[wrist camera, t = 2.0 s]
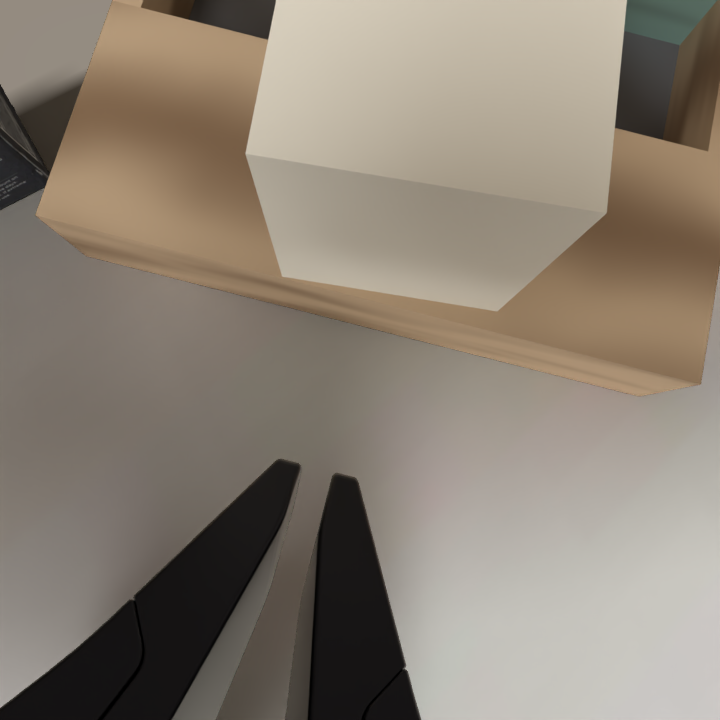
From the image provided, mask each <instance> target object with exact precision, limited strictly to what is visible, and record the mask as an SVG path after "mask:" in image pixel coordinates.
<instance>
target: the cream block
mask: <svg viewBox="0 0 720 720" xmlns="http://www.w3.org/2000/svg"><path fill="white" fill-rule="evenodd" d="M626 4H627V0H276V4H275V9H274V14H273V19H272V24H271V28H270V33H269V38H268V43H267V48H266V53H265V58H264V63H263V68H262V73H261V78H260V83H259V88H258V93H257V98H256V103H255V108H254V113H253V118H252V123H251V128H250V133H249V138H248V143H247V148H246V153H245V154H246V157H247V161H248V164H249V167H250V171H251V174H252V177H253V181H254V184H255V187H256V191H257V194H258V197H259V201H260V204H261V207H262V211H263V214H264V217H265V221H266V224H267V227H268V231H269V234H270V237H271V241H272V244H273V247H274V251H275V254H276V257H277V261H278V264H279V267H280V271H281V274H282V277H287V278H294V279H300V280H306V281H312V282H318V283H324V284H331V285H337V286H343V287H349V288H355V289H362V290H368V291H374V292H380V293H386V294H392V295H399V296H405V297H411V298H417V299H423V300H429V301H436V302H442V303H448V304H454V305H460V306H466V307H473V308H479V309H485V310H491V311H498V310H499V309H501V308H502V307H503V306H504V305H505V304H506V303H507V302H508V301H509V300H511V299H512V298H513V297H514V296H515V295H516V294H517V293H518V292H520V291H521V290H522V289H523V288H524V287H525V286H526V285H527V284H528V283H530V282H531V281H532V280H533V279H534V278H535V277H536V276H537V275H538V274H540V273H541V272H542V271H543V270H544V269H545V268H546V267H547V266H548V265H550V264H551V263H552V262H553V261H554V260H555V259H556V258H557V257H558V256H560V255H561V254H562V253H563V252H564V251H565V250H566V249H567V248H569V247H570V246H571V245H572V244H573V243H574V242H575V241H576V240H577V239H579V238H580V237H581V236H582V235H583V234H584V233H585V232H586V231H587V230H589V229H590V228H591V227H592V226H593V225H594V224H595V223H596V222H597V221H599V220H600V219H601V218H602V217H603V216H604V215H605V214H606V213H607V205H608V194H609V184H610V173H611V163H612V152H613V141H614V131H615V120H616V110H617V99H618V89H619V78H620V68H621V57H622V47H623V36H624V25H625V15H626Z"/></svg>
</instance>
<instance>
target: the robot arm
mask: <svg viewBox="0 0 720 720" xmlns="http://www.w3.org/2000/svg"><path fill="white" fill-rule="evenodd" d="M301 470H302V467H301V465H300V464H299V463H296V462H292V461H288V460H284V459H278V460H276V461H275V462H274V463H273V464H272V465H271V466H270V467H269V468H268V469H266V470H265V471H264V472H263V473H262V474H261V475H260V476H259V477H258V478H257V479H256V480H255V481H254V482H253V483H252V484H251V485H250V486H249V487H248V488H247V489H246V490H244V491H243V492H242V493H241V494H240V495H239V496H238V497H237V498H236V499H235V500H234V501H233V502H232V503H231V504H230V505H229V506H228V507H227V508H226V509H225V510H223V511H222V512H221V513H220V514H219V515H218V516H217V517H216V518H215V519H214V520H213V521H212V522H211V523H210V524H209V525H208V526H207V527H206V528H205V529H204V530H202V531H201V532H200V533H199V534H198V535H197V536H196V537H195V538H194V539H193V540H192V541H191V542H190V543H189V544H188V545H187V546H186V547H185V548H184V549H183V550H181V551H180V552H179V553H178V554H177V555H176V556H175V557H174V558H173V559H172V560H171V561H170V562H169V563H168V564H167V565H166V566H165V567H164V568H163V569H162V570H161V571H159V572H158V573H157V574H156V575H155V576H154V577H153V578H152V579H151V580H150V581H149V582H148V583H147V584H146V585H145V586H144V587H143V588H142V589H141V590H140V591H138V592H137V593H136V594H135V595H134V600H129V601H128V602H127V603H126V604H125V605H123V606H122V607H121V608H120V609H119V610H118V611H117V612H116V613H115V614H114V615H113V616H112V617H111V618H110V619H109V620H108V621H106V622H105V623H104V624H103V625H102V626H101V627H100V628H99V629H98V630H96V631H95V632H94V633H93V634H92V635H91V636H90V637H89V638H88V639H86V640H85V641H84V642H83V643H82V644H81V645H80V646H78V647H77V648H76V649H75V650H74V651H72V652H71V653H70V654H69V655H67V656H66V657H65V658H64V659H62V660H61V661H60V662H59V663H57V664H56V665H55V666H54V667H53V668H51V669H50V670H49V671H48V672H46V673H45V674H44V675H42V676H41V677H40V678H39V679H37V680H36V681H35V682H33V683H32V684H31V685H30V686H28V687H27V688H26V689H24V690H23V691H22V692H20V693H19V694H18V695H17V696H15V697H14V698H13V699H11V700H10V701H9V702H7V703H6V704H5V705H4V706H2V707H1V708H0V720H216V718H217V716H218V713H219V711H220V708H221V706H222V704H223V701H224V699H225V697H226V694H227V692H228V689H229V687H230V685H231V682H232V680H233V678H234V675H235V673H236V670H237V668H238V666H239V663H240V661H241V658H242V656H243V654H244V651H245V649H246V647H247V644H248V642H249V639H250V637H251V635H252V632H253V630H254V628H255V625H256V623H257V620H258V618H259V616H260V613H261V611H262V609H263V606H264V603H265V601H266V598H267V596H268V593H269V590H270V587H271V584H272V581H273V577H274V574H275V570H276V567H277V563H278V560H279V556H280V553H281V549H282V545H283V542H284V538H285V535H286V531H287V528H288V524H289V521H290V517H291V514H292V510H293V507H294V503H295V499H296V494H297V489H298V485H299V480H300V475H301ZM405 667H406V663H405V659H404V655H403V651H402V648H401V644H400V640H399V636H398V632H397V628H396V625H395V621H394V617H393V613H392V609H391V605H390V602H389V598H388V594H387V590H386V586H385V582H384V579H383V575H382V571H381V567H380V563H379V559H378V555H377V552H376V548H375V544H374V540H373V536H372V532H371V529H370V525H369V521H368V517H367V513H366V509H365V506H364V502H363V498H362V494H361V490H360V486H359V483H358V481H357V479H356V478H354V477H351V476H347V475H343V474H339V473H335V474H333V476H332V479H331V482H330V486H329V490H328V494H327V498H326V502H325V506H324V510H323V514H322V518H321V522H320V526H319V530H318V533H317V537H316V541H315V545H314V549H313V553H312V557H311V561H310V565H309V569H308V573H307V577H306V581H305V585H304V589H303V593H302V598H301V603H300V609H299V615H298V623H297V630H296V638H295V646H294V654H293V662H292V669H291V677H290V685H289V693H288V701H287V708H286V716H285V720H421V717H420V714H419V710H418V707H417V703H416V700H415V697H414V693H413V689H412V685H411V681H410V677H409V674H408V671H407V670H406V669H405Z"/></svg>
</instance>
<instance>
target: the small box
mask: <svg viewBox="0 0 720 720" xmlns="http://www.w3.org/2000/svg"><path fill="white" fill-rule="evenodd" d="M49 175H50V173H49V172H48V170H47V169H46V167H45V165H44V163H43V161H42V159H41V157H40V155H39V153H38V152H37V150H36V148H35V146H34V144H33V142H32V141H31V139H30V137H29V136H28V134H27V132H26V130H25V128H24V127H23V125H22V123H21V121H20V119H19V118H18V116H17V114H16V112H15V109H14V107H13V106H12V105H11V103H10V101H9V99H8V98H7V96H6V94H5V92H4V90H3V88H2V87H1V85H0V210H1V209H3V208H4V207H6V206H8V205H10V204H12V203H14V202H16V201H18V200H20V199H22V198H24V197H26V196H28V195H30V194H32V193H33V192H35V191H37V190H39V189H41V188H43V187H45V186H46V184H47V181H48V178H49Z"/></svg>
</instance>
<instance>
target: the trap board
mask: <svg viewBox="0 0 720 720" xmlns="http://www.w3.org/2000/svg"><path fill="white" fill-rule="evenodd" d="M275 4H276V0H112V3H111V5H110V8H109V11H108V14H107V17H106V19H105V22H104V25H103V28H102V31H101V33H100V36H99V39H98V42H97V45H96V47H95V50H94V53H93V56H92V58H91V61H90V64H89V67H88V69H87V72H86V75H85V78H84V81H83V83H82V86H81V89H80V92H79V95H78V97H77V100H76V103H75V106H74V108H73V111H72V114H71V117H70V120H69V122H68V125H67V128H66V131H65V134H64V136H63V139H62V142H61V145H60V147H59V150H58V153H57V156H56V159H55V161H54V164H53V167H52V170H51V173H50V175H49V178H48V181H47V184H46V186H45V189H44V192H43V195H42V198H41V200H40V203H39V206H38V209H37V211H36V214H35V216H37V217H38V218H39V219H40V220H42V221H43V222H44V223H45V224H47V225H48V226H49V227H50V228H52V229H53V230H54V231H55V232H57V233H58V234H59V235H60V236H62V237H63V238H64V239H65V240H67V241H68V242H69V243H70V244H72V245H73V246H74V247H75V248H77V249H78V250H79V251H80V252H82V253H83V254H84V255H85V256H88V257H92V258H96V259H100V260H104V261H108V262H112V263H116V264H120V265H124V266H128V267H131V268H135V269H139V270H143V271H147V272H151V273H155V274H159V275H163V276H167V277H171V278H175V279H179V280H183V281H187V282H191V283H194V284H198V285H202V286H206V287H210V288H214V289H218V290H222V291H226V292H230V293H234V294H238V295H242V296H246V297H250V298H253V299H257V300H261V301H265V302H269V303H273V304H277V305H281V306H285V307H289V308H293V309H297V310H301V311H305V312H309V313H313V314H316V315H320V316H324V317H328V318H332V319H336V320H340V321H344V322H348V323H352V324H356V325H360V326H364V327H368V328H372V329H376V330H379V331H383V332H387V333H391V334H395V335H399V336H403V337H407V338H411V339H415V340H419V341H423V342H427V343H431V344H435V345H438V346H442V347H446V348H450V349H454V350H458V351H462V352H466V353H470V354H474V355H478V356H482V357H486V358H490V359H494V360H498V361H501V362H505V363H509V364H513V365H517V366H521V367H525V368H529V369H533V370H537V371H541V372H545V373H549V374H553V375H557V376H561V377H564V378H568V379H572V380H576V381H580V382H584V383H588V384H592V385H596V386H600V387H604V388H608V389H612V390H616V391H620V392H624V393H627V394H631V395H635V396H644V395H649V394H654V393H659V392H664V391H669V390H674V389H680V388H685V387H690V386H695V385H700V384H701V380H702V373H703V367H704V361H705V354H706V348H707V342H708V335H709V329H710V323H711V316H712V310H713V304H714V298H715V291H716V285H717V279H718V272H719V266H720V0H627V4H626V15H625V25H624V36H623V47H622V57H621V68H620V78H619V89H618V99H617V110H616V120H615V131H614V141H613V152H612V163H611V173H610V184H609V194H608V205H607V213H606V214H605V215H604V216H603V217H602V218H601V219H600V220H599V221H597V222H596V223H595V224H594V225H593V226H592V227H591V228H590V229H589V230H587V231H586V232H585V233H584V234H583V235H582V236H581V237H580V238H579V239H577V240H576V241H575V242H574V243H573V244H572V245H571V246H570V247H569V248H567V249H566V250H565V251H564V252H563V253H562V254H561V255H560V256H558V257H557V258H556V259H555V260H554V261H553V262H552V263H551V264H550V265H548V266H547V267H546V268H545V269H544V270H543V271H542V272H541V273H540V274H538V275H537V276H536V277H535V278H534V279H533V280H532V281H531V282H530V283H528V284H527V285H526V286H525V287H524V288H523V289H522V290H521V291H520V292H518V293H517V294H516V295H515V296H514V297H513V298H512V299H511V300H509V301H508V302H507V303H506V304H505V305H504V306H503V307H502V308H501V309H499V310H498V311H491V310H485V309H479V308H473V307H466V306H460V305H454V304H448V303H442V302H436V301H429V300H423V299H417V298H411V297H405V296H399V295H392V294H386V293H380V292H374V291H368V290H362V289H355V288H349V287H343V286H337V285H331V284H324V283H318V282H312V281H306V280H300V279H294V278H287V277H282V274H281V271H280V267H279V264H278V261H277V257H276V254H275V251H274V247H273V244H272V241H271V237H270V234H269V231H268V227H267V224H266V221H265V217H264V214H263V211H262V207H261V204H260V201H259V197H258V194H257V191H256V187H255V184H254V181H253V177H252V174H251V171H250V167H249V164H248V161H247V157H246V154H245V153H246V148H247V143H248V138H249V133H250V128H251V123H252V118H253V113H254V108H255V103H256V98H257V93H258V88H259V83H260V78H261V73H262V68H263V63H264V58H265V53H266V48H267V43H268V38H269V33H270V28H271V24H272V19H273V14H274V9H275Z"/></svg>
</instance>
